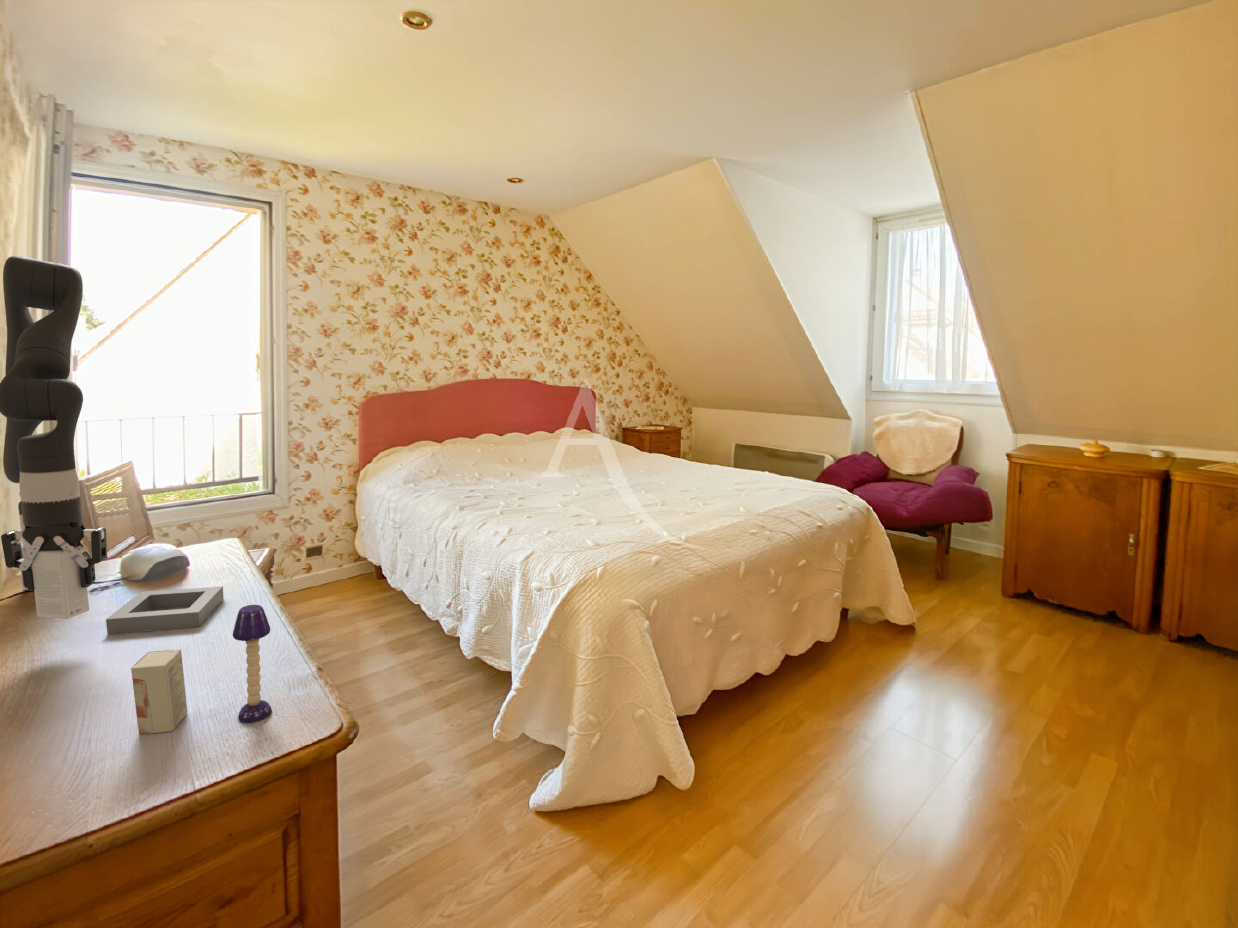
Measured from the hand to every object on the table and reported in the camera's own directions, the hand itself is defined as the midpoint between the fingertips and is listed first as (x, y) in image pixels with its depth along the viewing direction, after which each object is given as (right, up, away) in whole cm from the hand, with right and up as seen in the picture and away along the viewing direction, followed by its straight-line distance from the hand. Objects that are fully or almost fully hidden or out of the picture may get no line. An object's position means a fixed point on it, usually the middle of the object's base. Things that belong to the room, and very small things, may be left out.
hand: (60, 587), depth 107 cm
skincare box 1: (0, -5, +1) cm, 5 cm away
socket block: (+6, -9, +17) cm, 20 cm away
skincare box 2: (+33, -16, -20) cm, 42 cm away
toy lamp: (+45, -16, -17) cm, 51 cm away
